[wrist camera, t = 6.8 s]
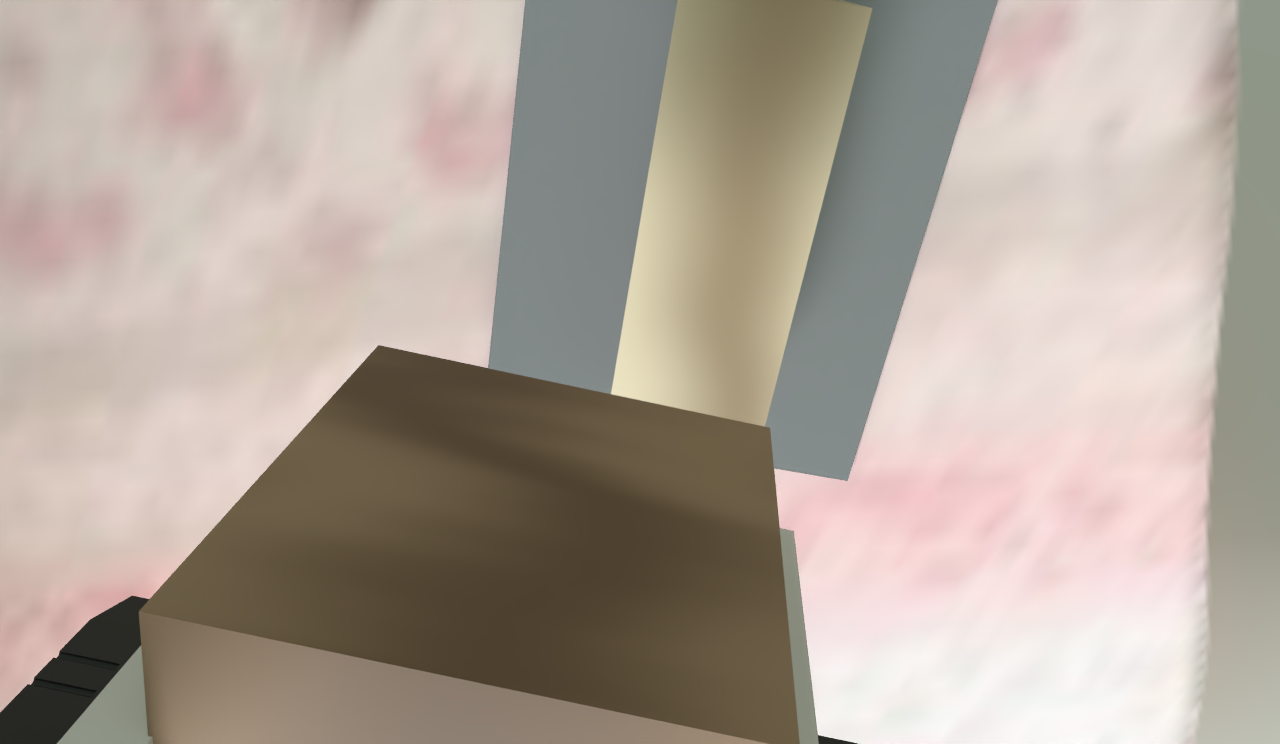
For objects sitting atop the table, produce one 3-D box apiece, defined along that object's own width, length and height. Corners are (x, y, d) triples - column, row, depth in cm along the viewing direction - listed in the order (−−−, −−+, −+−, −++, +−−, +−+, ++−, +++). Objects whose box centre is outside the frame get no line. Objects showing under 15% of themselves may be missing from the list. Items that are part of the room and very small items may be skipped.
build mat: (486, 412, 29) (483, 417, 29) (542, -145, 22) (540, -146, 22) (845, 474, 29) (847, 481, 29) (1010, -58, 22) (1015, -59, 22)
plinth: (614, 384, 28) (598, 466, 23) (684, -29, 23) (682, -27, 18) (739, 405, 28) (747, 492, 23) (837, -1, 23) (872, 8, 18)
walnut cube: (359, 645, 16) (168, 1001, 10) (378, 345, 13) (138, 611, 8) (686, 714, 16) (665, 1106, 10) (769, 427, 13) (801, 750, 8)
